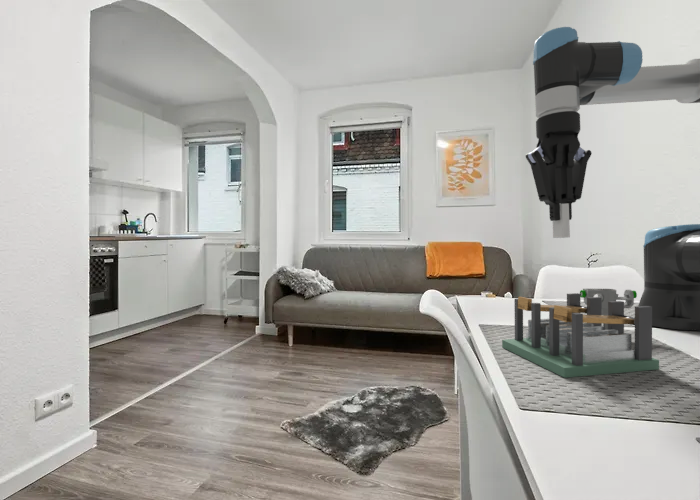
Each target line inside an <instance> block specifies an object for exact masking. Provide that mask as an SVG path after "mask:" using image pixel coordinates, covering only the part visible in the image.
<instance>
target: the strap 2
mask: <svg viewBox="0 0 700 500" xmlns="http://www.w3.org/2000/svg"><path fill="white" fill-rule="evenodd" d="M553 305H554V319H557V320H561V321H564V322H572V308H568V307H564V306H565V305H560V306H559V305H557V304H553ZM583 323H602V324H603V323H607V324H624V325H633V326H635V316H628V315H625V314H624V315H618V316H607V315H587V314H583Z"/></svg>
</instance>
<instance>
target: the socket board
mask: <svg viewBox="0 0 700 500" xmlns="http://www.w3.org/2000/svg"><path fill="white" fill-rule="evenodd" d="M501 347H502V349H505V350H507V351H509V352H511V353H513V354H515V355H517V356H519V357H521V358H523V359H525V360H528V361H529V362H531V363H534V364H535V365H537V366H540V367H541V368H544V369H545V370H548V371H550V372H552V373H553V374H556V375H558V376H560V377H561V378H565V379H566V378H577V377H585V376H586V377H587V376H599V375H609V374H620V373H621V374H622V373H633V372H642V371H643V372H645V371H655V370H656V371H657V370H660V360H659V359H658V358H654V357H652V359H651V360H636V359H635V360H625V361H613V362H601V363H588V364H585V363H583V365H581V366H575V365H573V364H572V358H570V357H568V356H565V355H563V354H560V353H559V356H552V355H550V354H549V349H548V348H546V347H543V346H541V348H533V347H532V342H531V341H529V340H526V337H523V340H520V341H517V340H515V338H506V339H501Z"/></svg>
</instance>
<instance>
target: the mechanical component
mask: <svg viewBox="0 0 700 500" xmlns="http://www.w3.org/2000/svg"><path fill="white" fill-rule="evenodd" d="M579 294H580V299H581V298H583V303H584V304H585V305H586V306H587V298H588V297H595V295H597V297H601V298H602V315H607V316H608V302H610V301H624V309H630V308H632V307H633V306H634V302H635V299H637V297H638V296H637V295H638V294H637V291H636V290H632V289H625V290H624V292H623V296H619V294H618V293H617V289H613V288H582V289H581V290H579ZM602 326H603V327H605V330H608V324H607V323H602Z"/></svg>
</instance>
